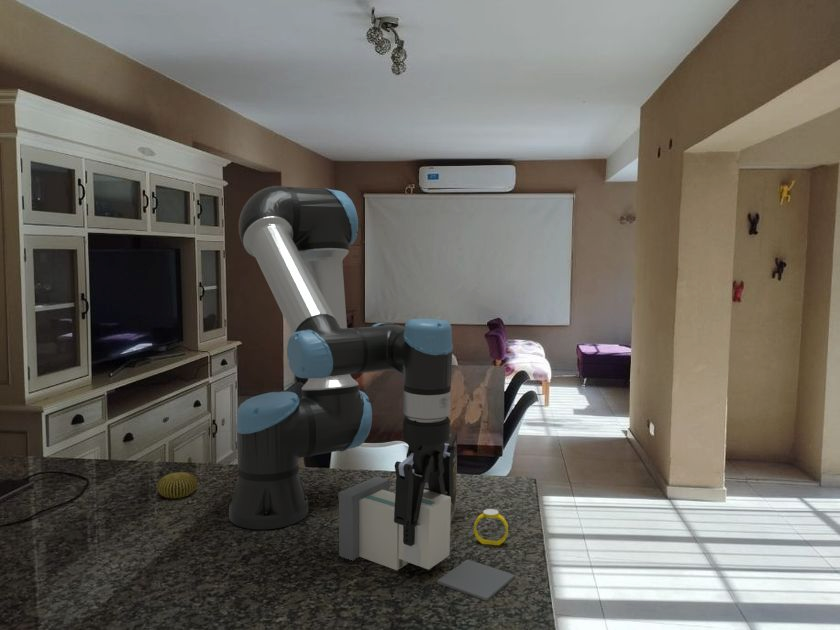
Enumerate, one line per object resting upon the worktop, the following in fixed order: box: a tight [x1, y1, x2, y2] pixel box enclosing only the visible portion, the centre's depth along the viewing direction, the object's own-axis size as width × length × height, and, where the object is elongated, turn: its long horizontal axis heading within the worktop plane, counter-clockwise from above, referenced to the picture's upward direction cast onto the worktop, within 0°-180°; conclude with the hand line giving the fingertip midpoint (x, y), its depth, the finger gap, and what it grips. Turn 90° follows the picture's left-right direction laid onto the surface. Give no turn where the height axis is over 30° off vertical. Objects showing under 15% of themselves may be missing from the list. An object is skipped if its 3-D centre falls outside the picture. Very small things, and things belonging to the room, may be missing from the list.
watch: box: [473, 508, 509, 546], centre depth 118 cm, size 6×3×6 cm, turn 80°
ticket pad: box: [337, 475, 410, 571], centre depth 113 cm, size 12×10×11 cm
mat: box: [436, 559, 516, 602], centre depth 105 cm, size 9×9×1 cm
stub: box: [398, 489, 451, 571], centre depth 108 cm, size 6×6×10 cm
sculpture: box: [156, 471, 198, 499], centre depth 140 cm, size 8×4×8 cm
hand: (424, 554), depth 108 cm, fingers closed on stub, 6 cm apart
